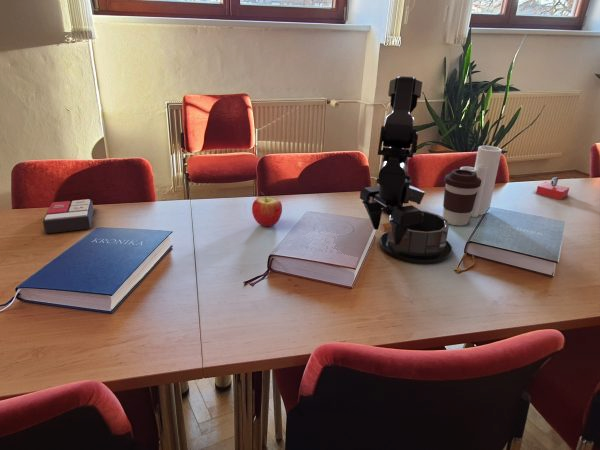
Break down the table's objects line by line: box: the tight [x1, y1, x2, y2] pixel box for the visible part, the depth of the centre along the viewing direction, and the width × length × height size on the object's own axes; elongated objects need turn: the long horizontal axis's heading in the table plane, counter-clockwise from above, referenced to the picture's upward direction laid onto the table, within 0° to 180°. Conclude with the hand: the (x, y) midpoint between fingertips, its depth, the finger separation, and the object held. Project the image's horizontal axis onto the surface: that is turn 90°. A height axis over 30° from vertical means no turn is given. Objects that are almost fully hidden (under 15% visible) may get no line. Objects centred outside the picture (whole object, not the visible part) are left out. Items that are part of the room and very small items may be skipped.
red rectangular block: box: [535, 176, 570, 201], centre depth 154 cm, size 8×7×6 cm
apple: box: [251, 191, 283, 227], centre depth 124 cm, size 8×8×10 cm
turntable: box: [379, 232, 453, 265], centre depth 114 cm, size 18×18×1 cm
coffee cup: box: [442, 168, 481, 226], centre depth 128 cm, size 10×10×15 cm
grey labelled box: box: [42, 198, 94, 234], centre depth 124 cm, size 11×4×15 cm
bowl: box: [379, 210, 450, 256], centre depth 112 cm, size 17×14×6 cm
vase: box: [459, 145, 503, 218], centre depth 134 cm, size 11×7×20 cm, turn 111°
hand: (386, 236), depth 109 cm, fingers open, 9 cm apart
